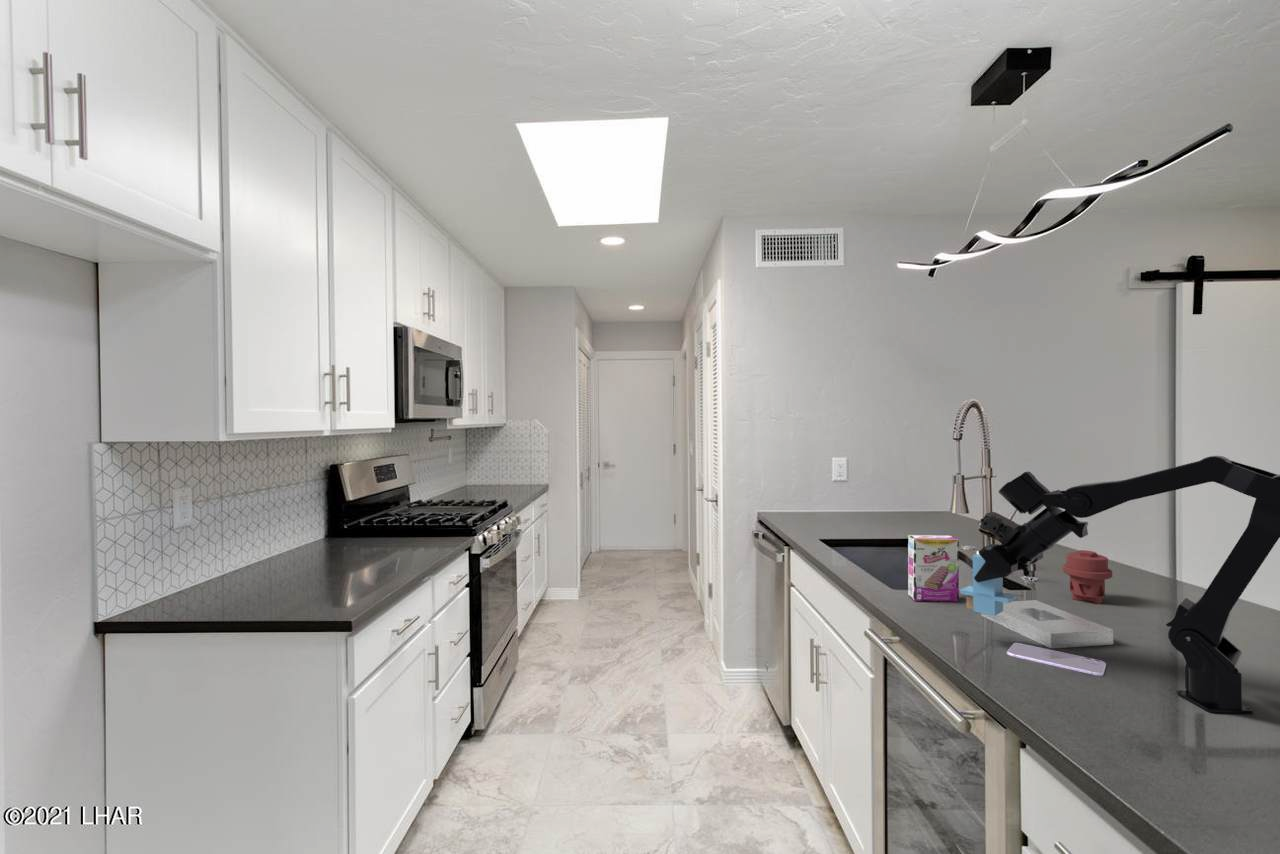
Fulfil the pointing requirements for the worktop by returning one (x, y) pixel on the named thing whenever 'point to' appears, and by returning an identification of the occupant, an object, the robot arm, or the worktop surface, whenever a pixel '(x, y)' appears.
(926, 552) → the candy bar box
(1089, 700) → the worktop surface
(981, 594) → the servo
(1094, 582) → the mechanical component
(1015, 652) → the mobile phone
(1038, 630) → the plate
